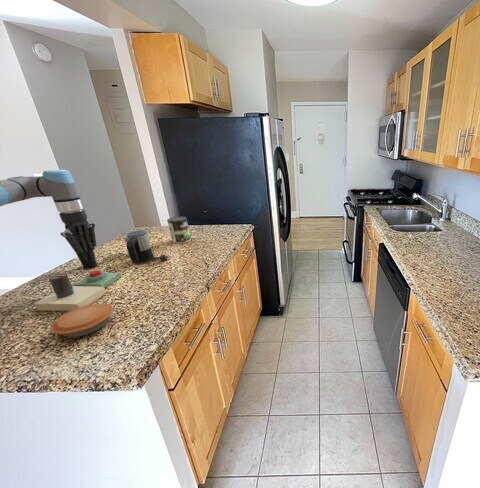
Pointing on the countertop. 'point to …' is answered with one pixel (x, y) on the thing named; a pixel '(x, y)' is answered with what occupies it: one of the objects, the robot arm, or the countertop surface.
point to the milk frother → (140, 247)
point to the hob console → (71, 299)
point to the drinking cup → (84, 261)
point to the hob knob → (61, 285)
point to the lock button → (95, 273)
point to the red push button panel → (98, 280)
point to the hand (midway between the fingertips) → (92, 264)
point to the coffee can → (179, 229)
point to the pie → (83, 320)
